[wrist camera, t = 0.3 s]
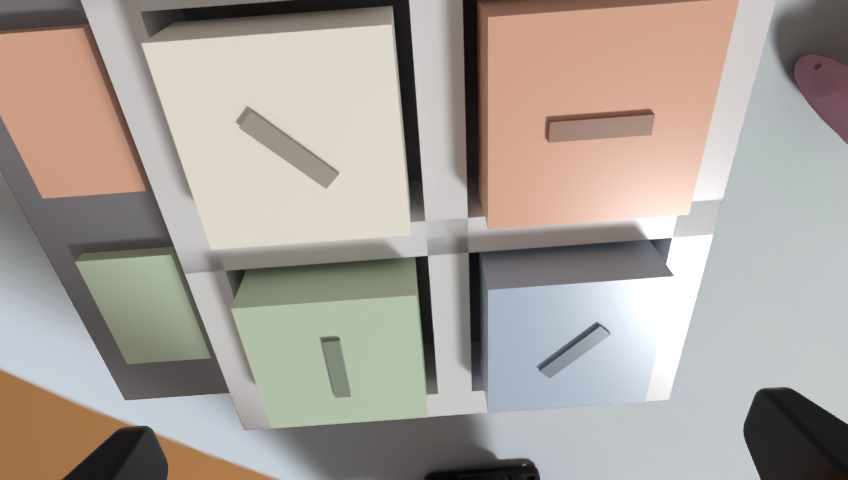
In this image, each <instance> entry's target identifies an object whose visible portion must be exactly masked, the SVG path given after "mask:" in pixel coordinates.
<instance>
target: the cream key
mask: <svg viewBox="0 0 848 480" xmlns="http://www.w3.org/2000/svg"><path fill="white" fill-rule="evenodd" d="M141 44H142V47H143V50H144V53H145V56H146V59H147V62H148V65H149V68H150V71H151V74H152V77H153V80H154V83H155V86H156V89H157V92H158V95H159V98H160V101H161V104H162V107H163V109H164V112H165V115H166V118H167V121H168V124H169V127H170V130H171V133H172V136H173V139H174V142H175V145H176V148H177V151H178V154H179V157H180V160H181V163H182V166H183V169H184V172H185V175H186V178H187V181H188V184H189V187H190V189H191V192H192V195H193V198H194V201H195V204H196V207H197V210H198V213H199V216H200V219H201V222H202V225H203V228H204V231H205V234H206V237H207V240H208V243H209V246H210V249H211V250H217V249H230V248H244V247H257V246H271V245H285V244H298V243H312V242H325V241H339V240H352V239H366V238H379V237H393V236H406V235H411V221H410V195H409V184H408V172H407V161H406V150H405V139H404V128H403V117H402V105H401V94H400V83H399V72H398V61H397V49H396V38H395V27H394V16H393V6H384V7H370V8H357V9H344V10H331V11H318V12H304V13H291V14H278V15H265V16H252V17H239V18H225V19H212V20H199V21H186V22H174V23H173V24H171V25H169V26H168V27H166V28H165V29H163V30H162V31H160V32H158V33H157V34H155V35H154V36H152V37H151V38H149V39H147V40H146V41H144V42H143V43H141Z"/></svg>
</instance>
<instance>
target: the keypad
mask: <svg viewBox="0 0 848 480" xmlns="http://www.w3.org/2000/svg"><path fill="white" fill-rule="evenodd" d="M775 3H776V0H739V4H738V8H737V12H736V17H735V21H734V25H733V29H732V34H731V38H730V42H729V47H728V51H727V55H726V59H725V64H724V68H723V72H722V76H721V81H720V85H719V89H718V93H717V98H716V102H715V106H714V110H713V115H712V119H711V123H710V127H709V132H708V136H707V140H706V144H705V149H704V153H703V157H702V162H701V166H700V170H699V174H698V179H697V183H696V187H695V191H694V196H693V200H692V204H691V208H690V213H689V215H677V216H664V217H650V218H637V219H623V220H610V221H596V222H582V223H569V224H555V225H542V226H528V227H515V228H501V229H488V227H487V223H486V219H485V215H484V211H483V207H482V203H481V199H480V195H479V167H478V71H477V0H0V170H1V172H2V173H3V175H4V177H5V179H6V181H7V183H8V184H9V186H10V188H11V190H12V192H13V194H14V196H15V197H16V199H17V201H18V203H19V205H20V207H21V209H22V210H23V212H24V214H25V216H26V218H27V220H28V221H29V223H30V225H31V227H32V229H33V231H34V233H35V234H36V236H37V238H38V240H39V242H40V244H41V246H42V247H43V249H44V251H45V253H46V255H47V257H48V258H49V260H50V262H51V264H52V266H53V268H54V270H55V271H56V273H57V275H58V277H59V279H60V281H61V282H62V284H63V286H64V288H65V290H66V292H67V294H68V295H69V297H70V299H71V301H72V303H73V305H74V307H75V308H76V310H77V312H78V314H79V316H80V318H81V319H82V321H83V323H84V325H85V327H86V329H87V331H88V332H89V334H90V336H91V338H92V340H93V342H94V344H95V345H96V347H97V349H98V351H99V353H100V355H101V356H102V358H103V360H104V362H105V364H106V366H107V368H108V369H109V371H110V373H111V375H112V377H113V379H114V380H115V382H116V384H117V386H118V388H119V390H120V392H121V393H122V395H123V397H124V399H125V400H137V399H150V398H164V397H178V396H192V395H205V394H219V393H230V394H231V397H232V399H233V402H234V405H235V407H236V410H237V413H238V415H239V418H240V420H241V423H242V426H243V428H244V430H255V429H269V428H271V427H270V424H269V421H268V418H267V415H266V412H265V409H264V406H263V403H262V400H261V397H260V394H259V391H258V388H257V385H256V382H255V379H254V376H253V373H252V370H251V367H250V364H249V361H248V358H247V355H246V352H245V350H244V347H243V344H242V341H241V338H240V335H239V332H238V329H237V326H236V323H235V320H234V317H233V314H232V311H231V307H232V304H233V302H234V299H235V297H236V294H237V292H238V289H239V287H240V284H241V282H242V279H243V277H244V274H245V271H246V269H255V268H268V267H282V266H296V265H309V264H323V263H336V262H350V261H364V260H377V259H391V258H404V257H415V262H416V273H417V284H418V295H419V306H420V318H421V329H422V340H423V351H424V362H425V374H426V394H427V413H428V417H435V416H449V415H462V414H476V413H488V410H487V404H486V398H485V392H484V386H483V380H482V373H481V358H480V262H479V252H486V251H499V250H513V249H526V248H540V247H554V246H567V245H581V244H594V243H608V242H621V241H635V240H650V242H651V243H652V244H653V246H654V247H655V249H656V250H657V252H658V253H659V255H660V256H661V257H662V259H663V260H664V262H665V263H666V265H667V266H668V268H669V269H670V270H671V272H672V273H673V275H674V281H673V285H672V289H671V294H670V298H669V302H668V306H667V311H666V315H665V319H664V323H663V328H662V332H661V336H660V340H659V345H658V349H657V353H656V357H655V362H654V366H653V370H652V374H651V379H650V383H649V387H648V391H647V396H646V400H645V401H656V400H669V397H670V393H671V389H672V385H673V382H674V378H675V374H676V370H677V367H678V363H679V359H680V356H681V352H682V348H683V344H684V341H685V337H686V333H687V330H688V326H689V322H690V318H691V315H692V311H693V307H694V304H695V300H696V296H697V292H698V289H699V285H700V281H701V278H702V274H703V270H704V266H705V263H706V259H707V255H708V252H709V248H710V244H711V240H712V237H713V233H714V229H715V226H716V222H717V218H718V214H719V211H720V207H721V203H722V200H723V196H724V192H725V188H726V185H727V181H728V177H729V174H730V170H731V166H732V162H733V159H734V155H735V151H736V148H737V144H738V140H739V136H740V133H741V129H742V125H743V122H744V118H745V114H746V110H747V107H748V103H749V99H750V96H751V92H752V88H753V84H754V81H755V77H756V73H757V70H758V66H759V62H760V58H761V55H762V51H763V47H764V44H765V40H766V36H767V32H768V29H769V25H770V21H771V18H772V14H773V10H774V6H775ZM384 6H393V16H394V27H395V38H396V49H397V61H398V72H399V83H400V94H401V105H402V117H403V128H404V139H405V150H406V161H407V172H408V184H409V195H410V221H411V235H406V236H393V237H379V238H366V239H352V240H339V241H325V242H312V243H298V244H285V245H271V246H257V247H244V248H230V249H217V250H211V249H210V246H209V243H208V240H207V237H206V234H205V231H204V228H203V225H202V222H201V219H200V216H199V213H198V210H197V207H196V204H195V201H194V198H193V195H192V192H191V189H190V187H189V184H188V181H187V178H186V175H185V172H184V169H183V166H182V163H181V160H180V157H179V154H178V151H177V148H176V145H175V142H174V139H173V136H172V133H171V130H170V127H169V124H168V121H167V118H166V115H165V112H164V109H163V107H162V104H161V101H160V98H159V95H158V92H157V89H156V86H155V83H154V80H153V77H152V74H151V71H150V68H149V65H148V62H147V59H146V56H145V53H144V50H143V47H142V44H141V43H143V42H144V41H146V40H147V39H149V38H151V37H152V36H154V35H155V34H157V33H158V32H160V31H162V30H163V29H165V28H166V27H168V26H169V25H171V24H173V23H174V22H186V21H199V20H212V19H225V18H239V17H252V16H265V15H278V14H291V13H304V12H318V11H331V10H344V9H357V8H370V7H384Z"/></svg>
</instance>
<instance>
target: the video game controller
mask: <svg viewBox="0 0 848 480" xmlns="http://www.w3.org/2000/svg"><path fill="white" fill-rule="evenodd" d="M794 78H795V82H796V84H797V85H798V87H799V89H800V91H801V93H802V94H803V96H804V97H805V99H806V100H807V102H808V103H809V105H810V106H811V107H812V108H813V109H814V111H815V112H816V113H817V114H818V115H819V116H820V118H821V119H822V120H823V121H824V122H825V123H826V124H828V125H829V126H830V127H831V128H832V129H833V130H834V131H835V132H836V133H837V134H838V135H839V136H840V137H841V138H842V139H843V140H844V141H845V142H846V143H847V144H848V66H846V65H844V64H842V63H840V62H838V61H835V60H833V59H831V58H829V57H824V56H820V55H816V54H815V55H804V56H802V57H800V58H799V60H798V61H797V62H796V63H795V66H794Z"/></svg>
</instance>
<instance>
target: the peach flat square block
mask: <svg viewBox="0 0 848 480" xmlns="http://www.w3.org/2000/svg"><path fill="white" fill-rule="evenodd" d="M738 4H739V0H477V71H478V167H479V195H480V199H481V203H482V207H483V211H484V215H485V219H486V223H487V227H488V229H501V228H515V227H528V226H542V225H555V224H569V223H582V222H596V221H610V220H623V219H637V218H650V217H664V216H677V215H689V213H690V208H691V204H692V200H693V196H694V191H695V187H696V183H697V179H698V174H699V170H700V166H701V162H702V157H703V153H704V149H705V144H706V140H707V136H708V132H709V127H710V123H711V119H712V115H713V110H714V106H715V102H716V98H717V93H718V89H719V85H720V81H721V76H722V72H723V68H724V64H725V59H726V55H727V51H728V47H729V42H730V38H731V34H732V29H733V25H734V21H735V17H736V12H737V8H738Z"/></svg>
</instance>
